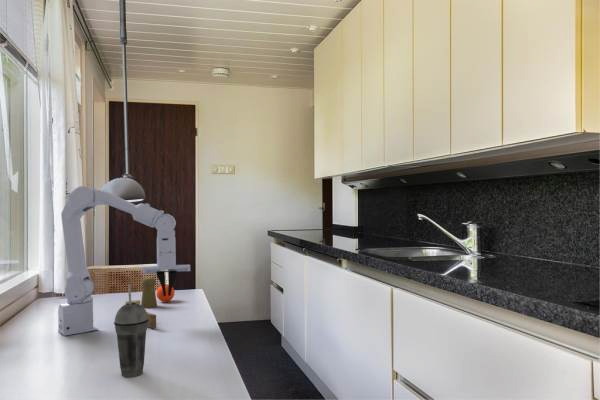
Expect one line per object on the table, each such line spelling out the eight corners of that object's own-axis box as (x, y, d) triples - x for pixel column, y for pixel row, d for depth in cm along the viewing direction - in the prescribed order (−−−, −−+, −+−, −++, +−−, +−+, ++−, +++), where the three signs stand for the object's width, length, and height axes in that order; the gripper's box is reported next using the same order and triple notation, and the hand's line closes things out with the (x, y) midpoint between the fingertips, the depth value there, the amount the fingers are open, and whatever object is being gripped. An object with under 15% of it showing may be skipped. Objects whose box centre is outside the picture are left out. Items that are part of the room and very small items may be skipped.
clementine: (156, 300, 192) (156, 282, 192) (174, 299, 194) (173, 281, 194) (156, 304, 184) (156, 285, 184) (175, 302, 186) (174, 284, 186)
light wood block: (126, 320, 156) (125, 301, 156) (140, 318, 157) (140, 299, 158) (125, 321, 154) (125, 302, 154) (140, 320, 156) (140, 300, 156)
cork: (159, 305, 182) (159, 276, 182) (153, 308, 176) (152, 278, 176) (144, 305, 183) (144, 276, 183) (137, 308, 177) (137, 278, 177)
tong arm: (133, 321, 154) (133, 309, 154) (136, 320, 155) (136, 308, 155) (153, 328, 144) (153, 315, 144) (156, 328, 144) (156, 314, 144)
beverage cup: (153, 367, 108) (152, 280, 109) (144, 379, 101) (142, 285, 101) (121, 368, 108) (120, 281, 108) (109, 380, 101) (108, 286, 101)
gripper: (142, 254, 143) (142, 299, 143) (190, 252, 148) (191, 295, 148) (142, 252, 150) (142, 295, 150) (188, 250, 155) (189, 292, 154)
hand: (167, 295), depth 149 cm, fingers closed
